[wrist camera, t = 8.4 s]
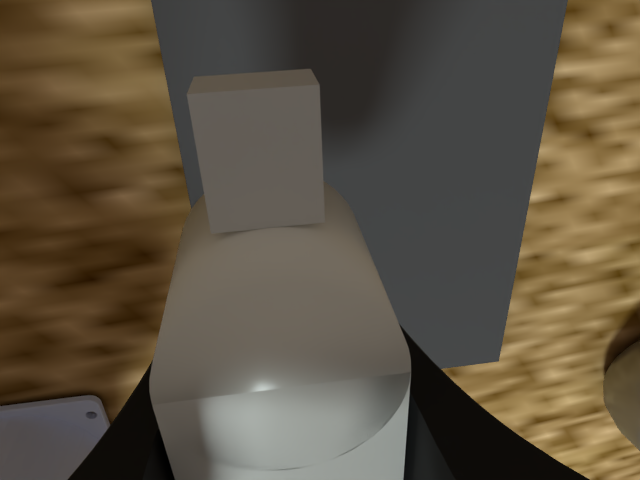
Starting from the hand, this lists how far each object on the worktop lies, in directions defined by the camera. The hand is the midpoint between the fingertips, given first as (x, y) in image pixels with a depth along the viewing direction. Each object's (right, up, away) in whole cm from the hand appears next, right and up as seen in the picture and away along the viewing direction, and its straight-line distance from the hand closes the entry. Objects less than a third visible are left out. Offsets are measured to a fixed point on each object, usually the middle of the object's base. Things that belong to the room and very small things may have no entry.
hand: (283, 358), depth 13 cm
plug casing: (0, +2, 0) cm, 2 cm away
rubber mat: (+3, +4, +9) cm, 10 cm away
